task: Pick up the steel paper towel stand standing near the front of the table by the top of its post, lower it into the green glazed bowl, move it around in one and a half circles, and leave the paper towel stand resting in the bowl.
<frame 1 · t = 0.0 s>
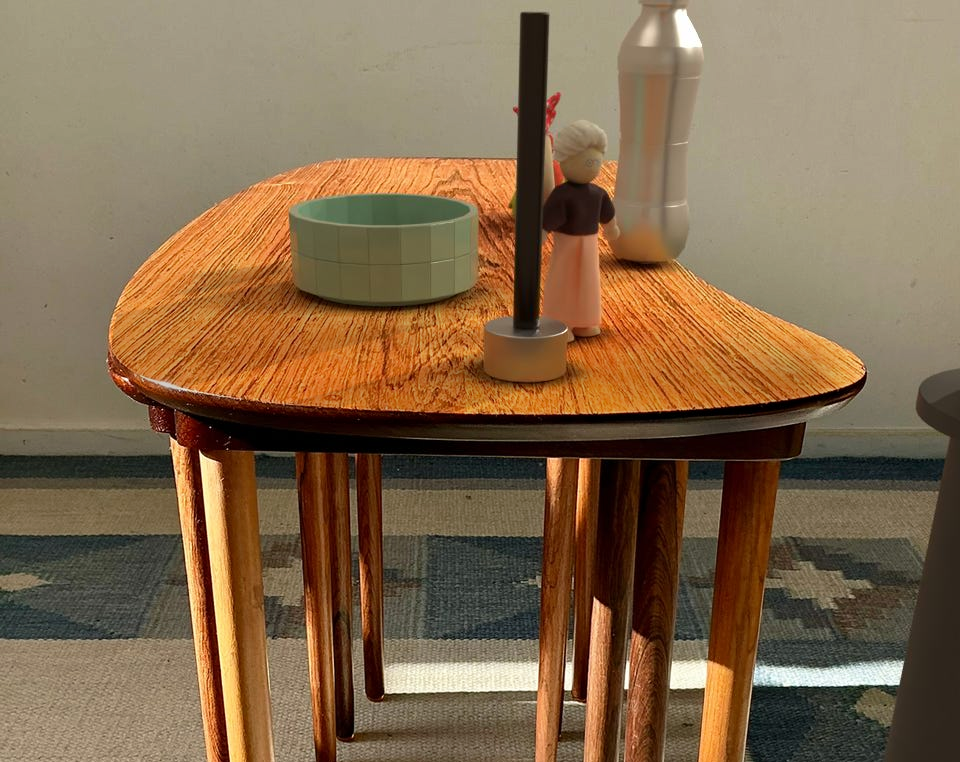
paper towel stand: (524, 370, 71), on the table
grandmother figurine: (573, 336, 78), on the table
bird rattle: (544, 225, 111), on the table
bowl: (386, 287, 88), on the table
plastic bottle: (645, 264, 97), on the table
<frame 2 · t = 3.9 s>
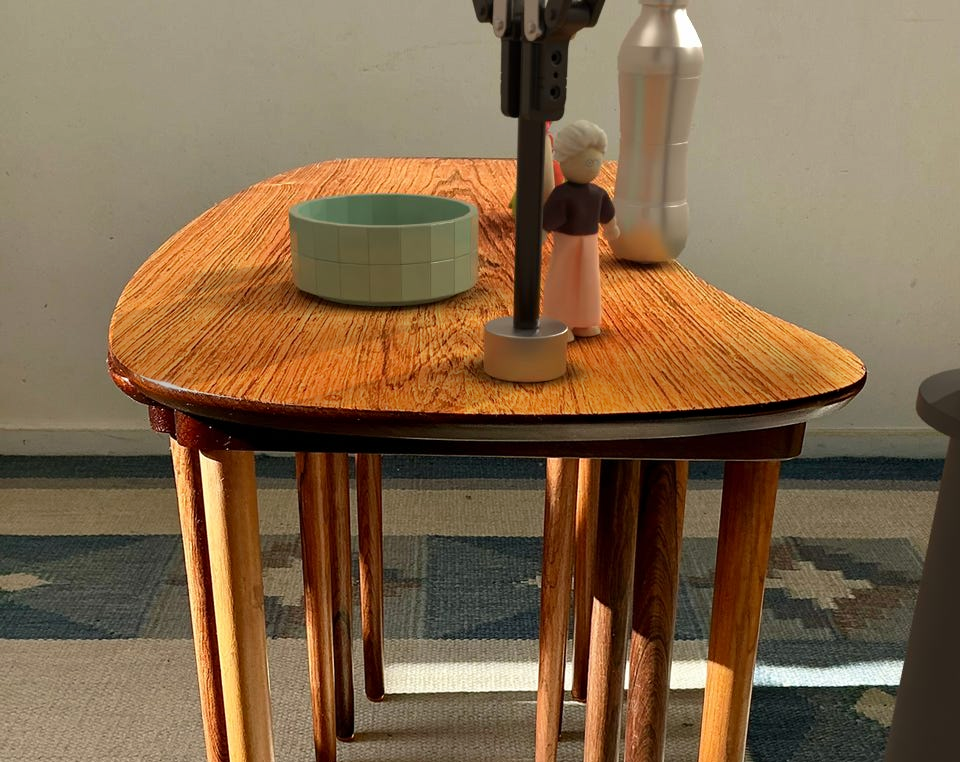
hand: (531, 117, 64), 14 cm above the table, tool pointing down, fingers closed on paper towel stand
paper towel stand: (524, 370, 71), on the table, touching gripper
everything else where it was.
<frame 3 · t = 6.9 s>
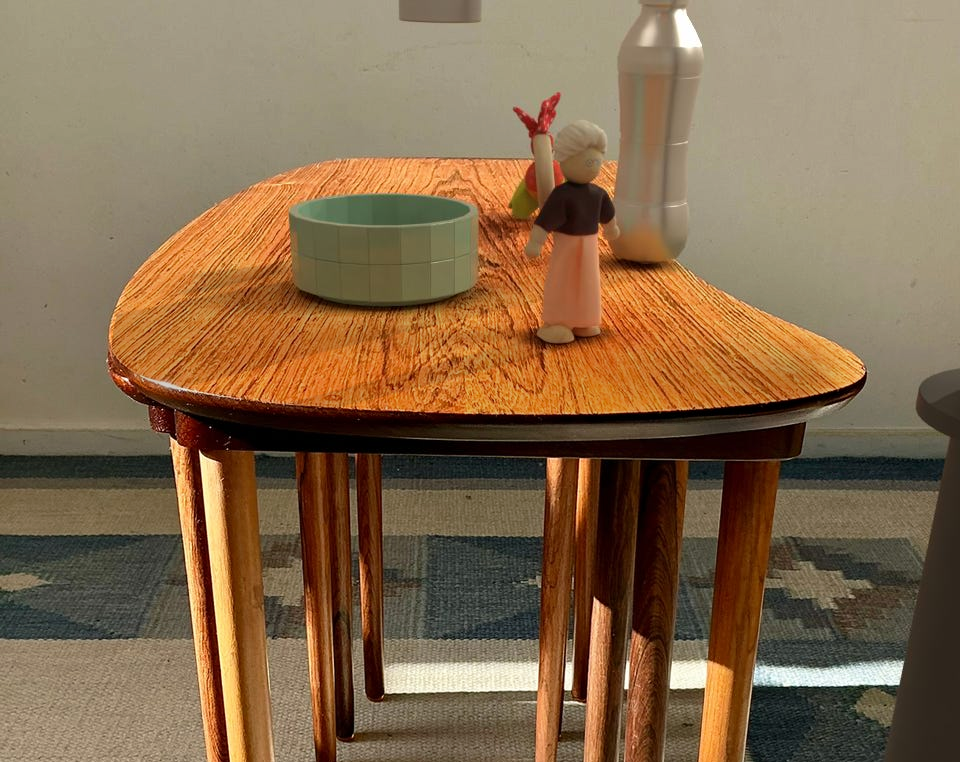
paper towel stand: (440, 20, 71), point 18 cm above the table, touching gripper
everything else where it was.
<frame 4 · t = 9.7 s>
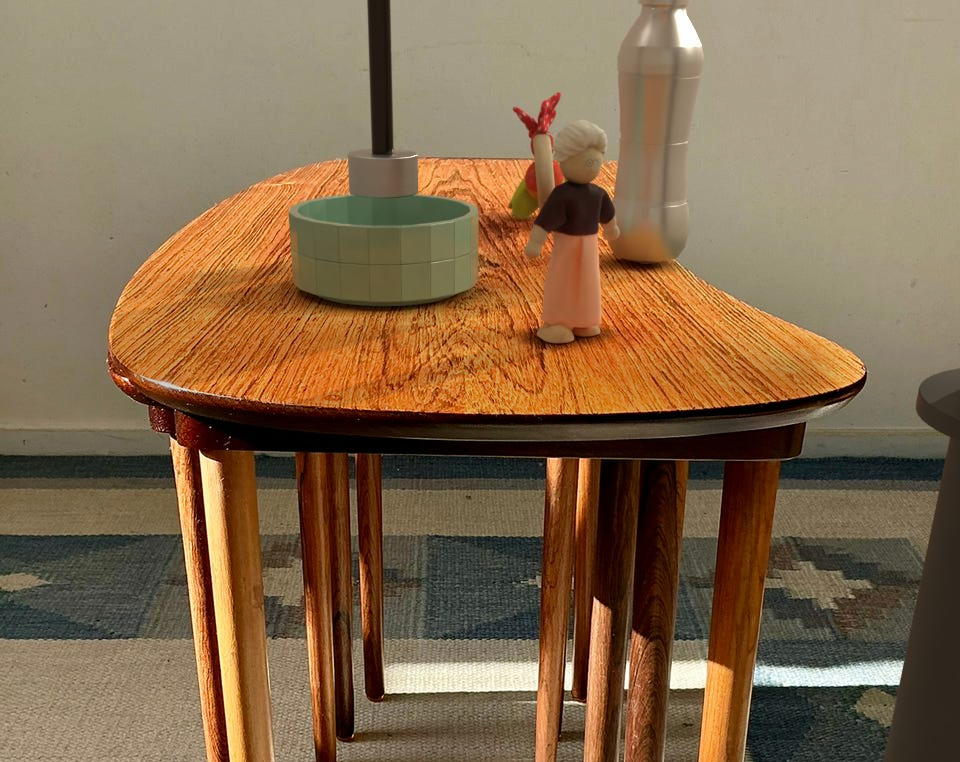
paper towel stand: (383, 192, 85), point 7 cm above the table, touching gripper
everything else where it was.
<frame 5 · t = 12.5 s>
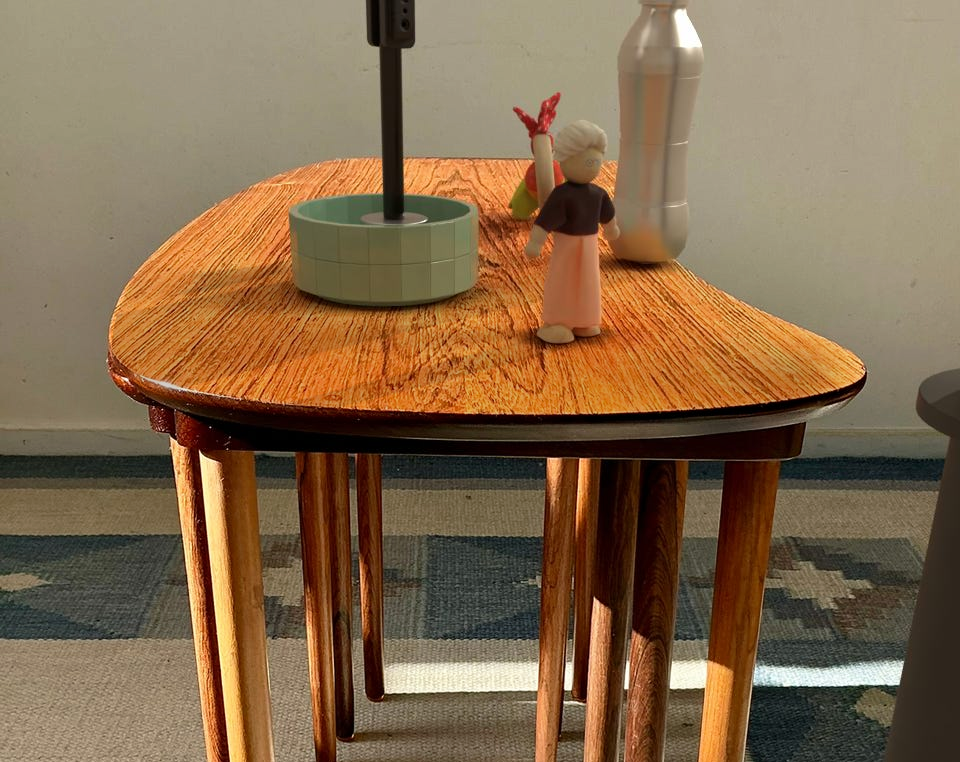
hand: (390, 46, 82), 16 cm above the table, tool pointing down, fingers closed on paper towel stand
paper towel stand: (394, 255, 88), point 2 cm above the table, touching gripper
everything else where it was.
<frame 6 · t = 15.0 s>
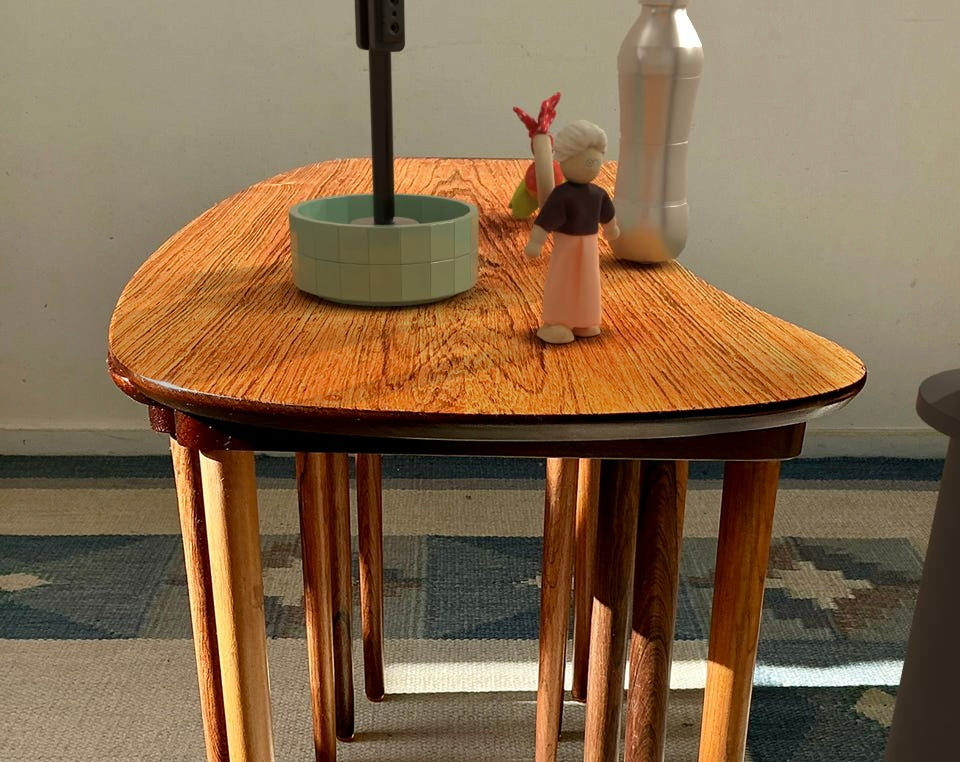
hand: (380, 49, 81), 16 cm above the table, tool pointing down, fingers closed on paper towel stand
paper towel stand: (385, 260, 87), point 2 cm above the table, touching gripper
everything else where it was.
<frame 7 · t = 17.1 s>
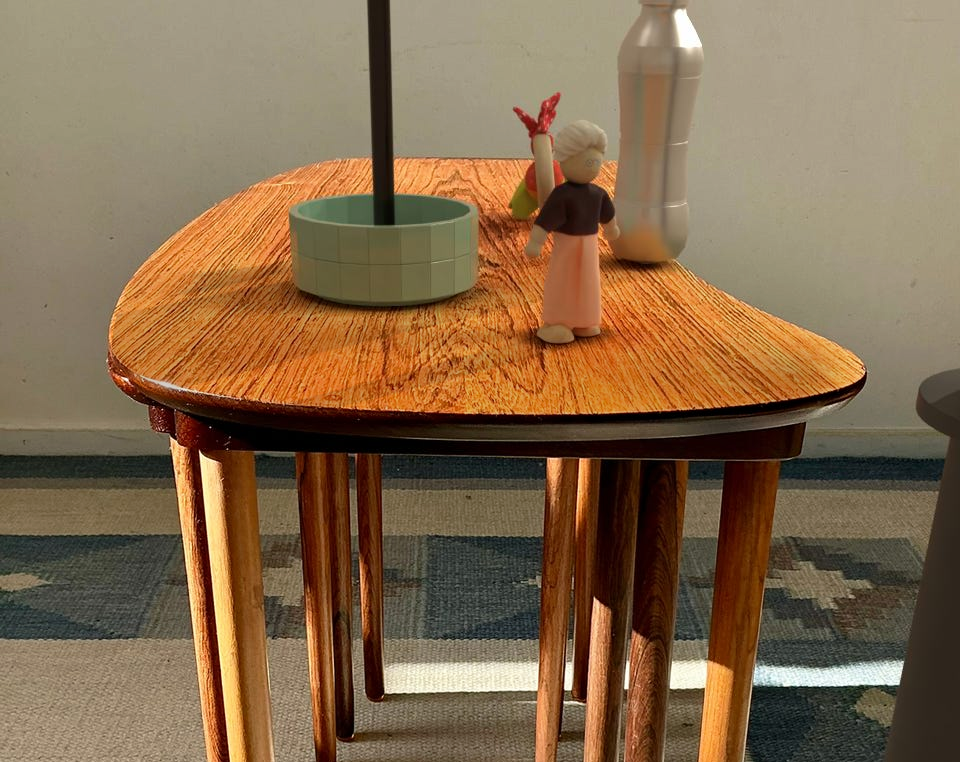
paper towel stand: (385, 279, 88), point 1 cm above the table, touching bowl
everything else where it was.
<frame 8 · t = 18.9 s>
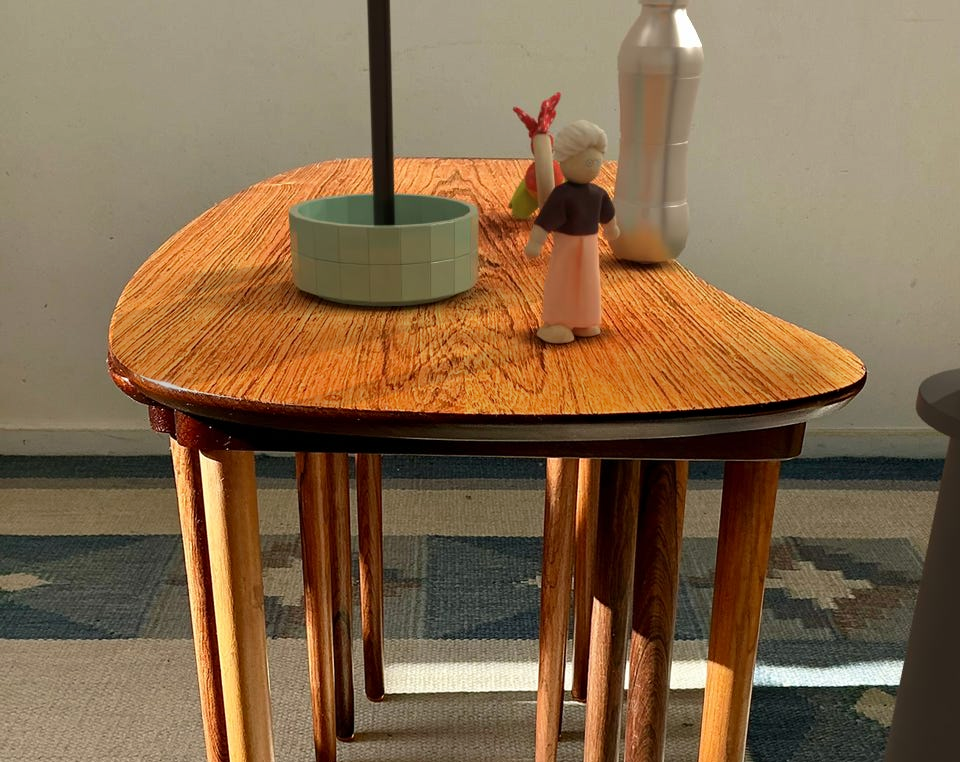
nothing on the table moved.
at the end: paper towel stand inside the target area in the bowl (0.1 cm from its centre), point 0.6 cm above the bowl's base; the gripper is holding nothing; paper towel stand moved 22.0 cm from its start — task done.
